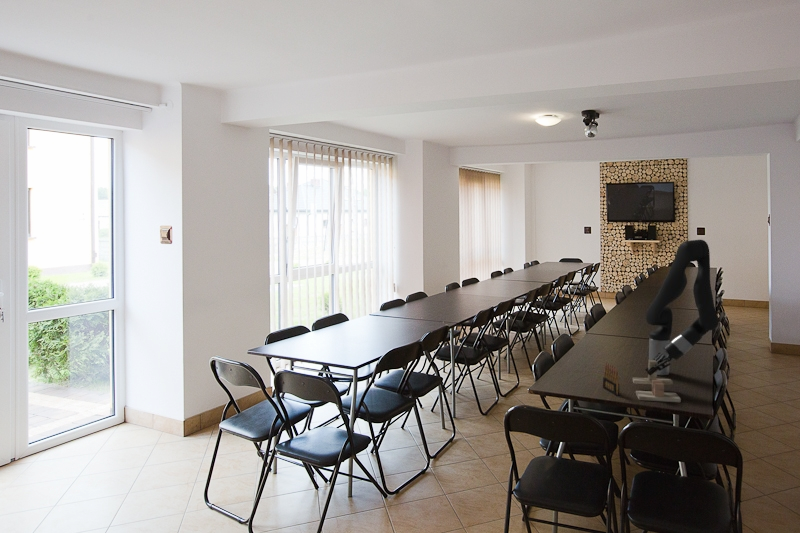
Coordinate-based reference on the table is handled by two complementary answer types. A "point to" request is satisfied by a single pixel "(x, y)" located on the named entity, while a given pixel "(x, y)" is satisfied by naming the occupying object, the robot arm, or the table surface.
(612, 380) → the ammunition clip
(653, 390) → the stand
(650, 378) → the maple T-beam
